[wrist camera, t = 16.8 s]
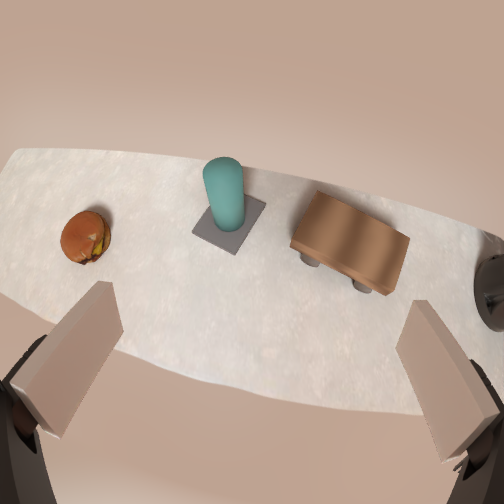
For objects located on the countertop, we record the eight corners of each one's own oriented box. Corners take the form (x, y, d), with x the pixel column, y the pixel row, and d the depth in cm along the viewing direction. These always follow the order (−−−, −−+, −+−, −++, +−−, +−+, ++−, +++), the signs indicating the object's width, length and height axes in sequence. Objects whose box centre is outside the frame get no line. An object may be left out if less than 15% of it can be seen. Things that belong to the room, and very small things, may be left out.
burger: (75, 220, 48) (63, 208, 44) (115, 215, 48) (104, 202, 44) (66, 269, 44) (52, 260, 40) (107, 267, 44) (94, 257, 40)
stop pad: (265, 205, 48) (265, 204, 47) (234, 255, 45) (234, 254, 44) (224, 187, 49) (224, 185, 49) (192, 233, 46) (191, 231, 46)
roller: (250, 212, 47) (249, 164, 36) (235, 236, 45) (229, 193, 34) (223, 200, 48) (215, 152, 36) (208, 224, 46) (195, 179, 35)
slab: (394, 252, 44) (410, 238, 39) (377, 300, 41) (394, 290, 36) (311, 210, 47) (317, 190, 42) (287, 254, 44) (291, 238, 39)
